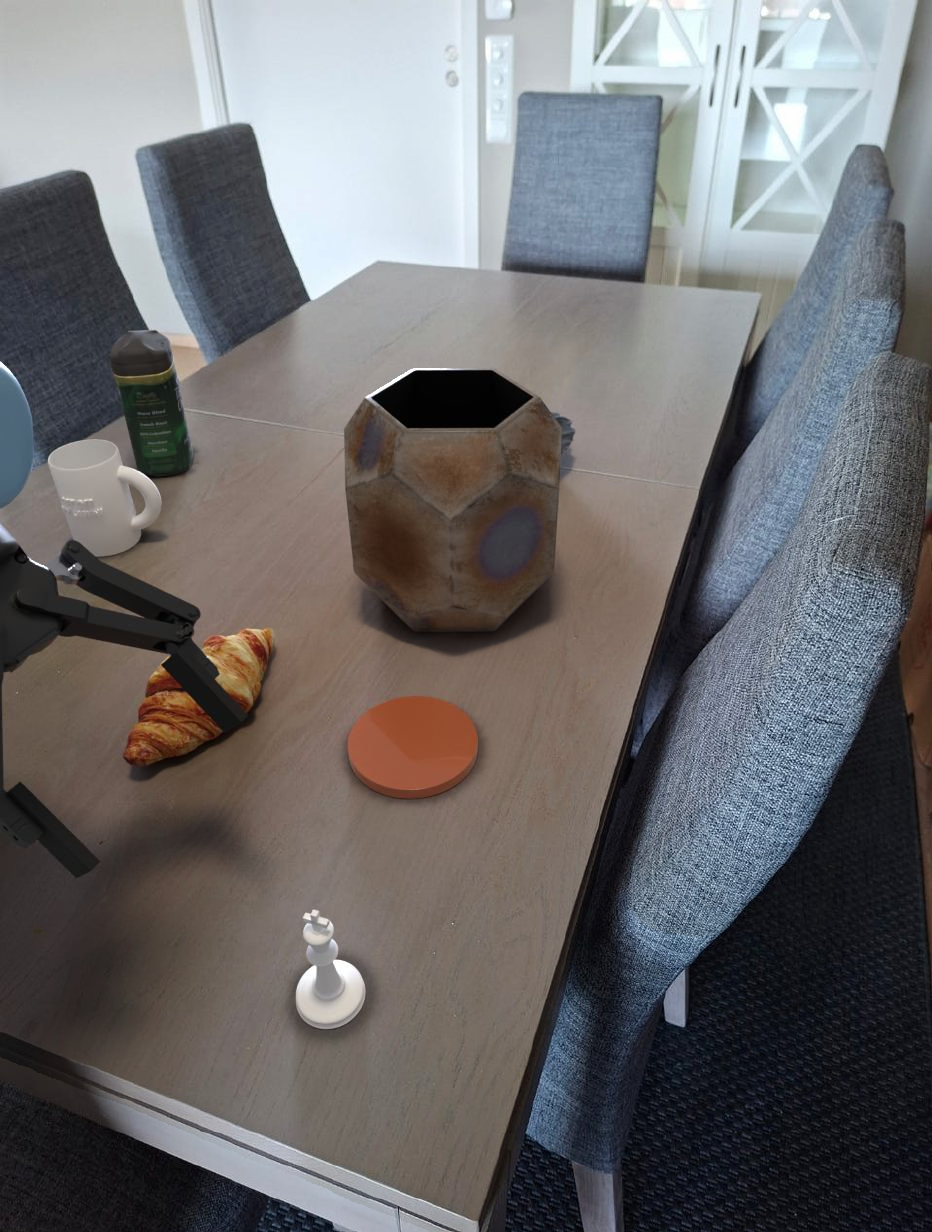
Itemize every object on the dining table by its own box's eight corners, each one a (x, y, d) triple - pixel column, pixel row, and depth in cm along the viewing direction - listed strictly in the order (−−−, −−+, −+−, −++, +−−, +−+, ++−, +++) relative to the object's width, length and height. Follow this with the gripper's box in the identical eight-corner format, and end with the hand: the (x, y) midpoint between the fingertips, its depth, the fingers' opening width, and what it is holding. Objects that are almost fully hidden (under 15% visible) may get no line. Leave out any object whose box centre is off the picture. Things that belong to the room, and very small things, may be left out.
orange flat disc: (342, 800, 76) (341, 790, 76) (354, 705, 86) (353, 696, 85) (479, 798, 76) (479, 788, 76) (476, 703, 86) (476, 694, 85)
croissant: (255, 662, 96) (216, 602, 94) (319, 649, 91) (280, 584, 88) (121, 795, 81) (69, 728, 78) (189, 789, 75) (136, 716, 72)
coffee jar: (193, 476, 124) (164, 347, 113) (135, 481, 123) (100, 352, 112) (197, 445, 131) (171, 322, 120) (143, 450, 130) (111, 326, 119)
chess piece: (315, 955, 65) (297, 872, 59) (376, 974, 63) (365, 892, 57) (283, 1017, 61) (261, 934, 55) (348, 1038, 60) (333, 957, 54)
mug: (160, 559, 107) (137, 471, 100) (64, 558, 107) (34, 470, 100) (180, 523, 114) (159, 439, 106) (89, 522, 114) (63, 438, 107)
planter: (348, 659, 92) (324, 454, 77) (370, 535, 111) (354, 352, 96) (559, 659, 91) (574, 453, 77) (544, 534, 111) (554, 351, 96)
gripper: (66, 478, 64) (262, 691, 68) (-298, 681, 47) (-8, 954, 50) (100, 425, 59) (310, 659, 63) (-295, 632, 41) (28, 940, 45)
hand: (169, 791), depth 56 cm, fingers open, 13 cm apart
